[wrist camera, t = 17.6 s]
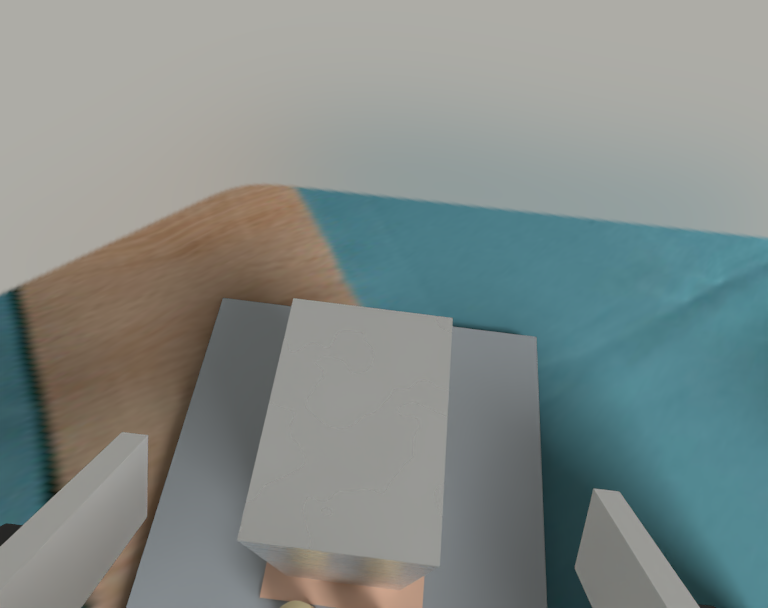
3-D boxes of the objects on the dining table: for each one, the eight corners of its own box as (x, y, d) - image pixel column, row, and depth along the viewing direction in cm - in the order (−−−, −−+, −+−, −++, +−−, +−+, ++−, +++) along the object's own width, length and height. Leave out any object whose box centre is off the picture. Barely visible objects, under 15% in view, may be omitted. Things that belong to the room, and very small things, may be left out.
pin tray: (96, 737, 21) (29, 767, 17) (227, 308, 32) (206, 256, 27) (545, 796, 21) (597, 843, 17) (530, 346, 31) (560, 300, 27)
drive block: (286, 575, 23) (236, 540, 13) (314, 421, 27) (293, 298, 17) (400, 590, 23) (439, 566, 13) (413, 433, 27) (452, 317, 17)
